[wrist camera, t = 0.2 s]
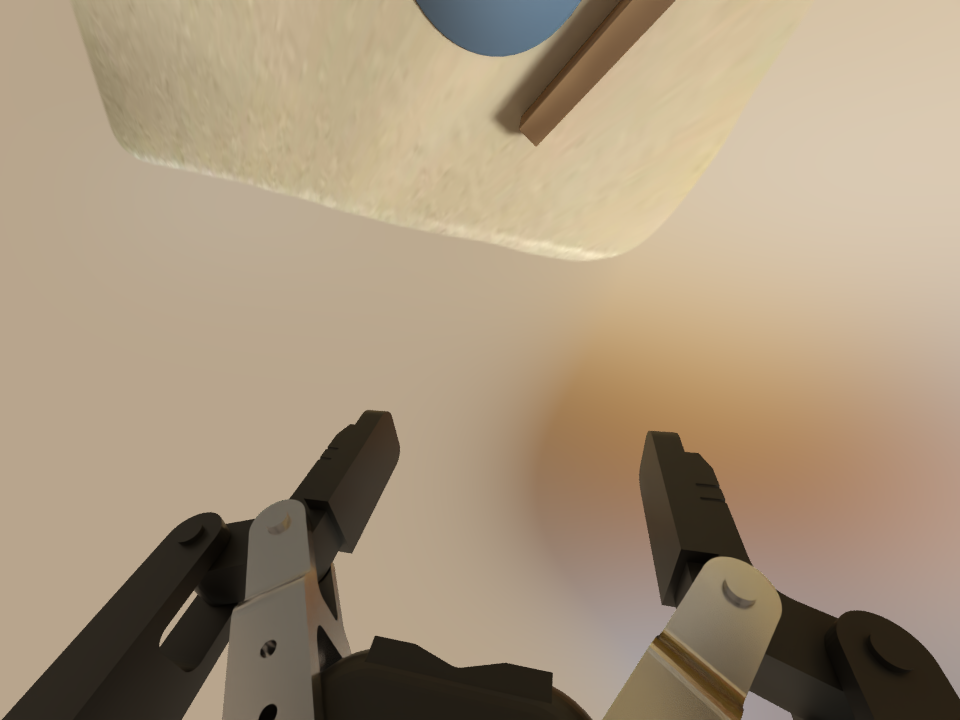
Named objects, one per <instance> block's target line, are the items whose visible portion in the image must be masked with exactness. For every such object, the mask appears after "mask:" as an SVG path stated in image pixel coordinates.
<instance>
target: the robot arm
mask: <svg viewBox="0 0 960 720" xmlns="http://www.w3.org/2000/svg"><path fill="white" fill-rule="evenodd" d="M399 454H400V445H399V441H398V437H397V434H396V430H395V426H394V423H393V419H392V415H391V413H389V412H386V411H373V410H367V411H365V412H364V413H363V414H362V415H361V417H360V418H359V420H358V421H357V423H356V424H355V425H353V424H350V425H349V426H347V427H346V428H345V429H343V430H342V431H341V432H339V433H338V434H337V435H336V436H335V438H334V439H333V440H332V442H331V443H330V444H329V446H328V449H326V450H325V451H324V453H323V454H322V456H321V457H320V460H318V461H317V462H316V463H315V465H314V466H313V468H312V469H311V470H310V472H309V473H308V474H307V476H306V477H305V479H304V480H303V481H302V483H301V484H300V485H299V487H298V488H297V490H296V491H295V492H294V493H293V495H292V496H291V497H290V499H289V500H282V501H279V502H277V503H274V504H272V505H271V506H269V507H267V508H266V509H265V510H263V511H262V512H261V513H260V514H259V515H258V516H257V517H256V519H252V520H246V521H241V522H234V523H229V524H225V523H224V521H223V520H222V518H221V517H220V516H219V515H218V514H216V513H211V512H210V513H202V514H198V515H196V516H193V517H191V518H189V519H187V520H186V521H184V522H182V523H181V524H179V525H178V526H177V527H176V528H175V529H173V530H172V531H171V532H170V533H169V535H168V536H167V537H166V538H165V539H164V540H163V541H162V542H161V543H160V545H159V546H158V547H157V548H156V549H155V550H154V551H153V552H152V553H151V555H150V556H149V557H148V558H147V559H146V560H145V561H144V562H143V563H142V565H141V566H140V567H139V568H138V569H137V570H136V571H135V572H134V574H133V575H132V576H131V577H130V578H129V579H128V580H127V581H126V582H125V584H124V585H123V586H122V587H121V588H120V589H119V590H118V591H117V592H116V593H115V595H114V596H113V597H112V598H111V599H110V600H109V601H108V603H106V605H105V606H104V607H103V608H102V609H101V610H100V611H99V612H98V613H97V615H96V616H95V617H94V618H93V619H92V620H91V621H90V622H89V623H88V625H87V626H86V627H85V628H84V629H83V630H82V631H81V632H80V633H79V635H78V636H77V637H76V638H75V639H74V640H73V641H72V642H71V643H70V645H69V646H68V647H67V648H66V649H65V650H64V651H63V652H62V654H61V655H60V656H59V657H58V658H57V659H56V660H55V661H54V662H53V664H52V665H51V666H50V667H49V668H48V669H47V670H46V671H45V672H44V673H43V675H42V676H41V677H40V678H39V679H38V680H37V681H36V682H35V683H34V685H33V686H32V687H31V688H30V689H29V690H28V691H27V692H26V693H25V695H24V696H23V697H22V698H21V699H20V700H19V701H18V702H17V703H16V705H15V706H14V707H13V708H12V709H11V710H10V711H9V712H8V713H7V715H6V716H5V717H4V718H3V719H2V720H182V718H183V716H184V715H185V713H186V711H187V710H188V708H189V706H190V705H191V703H192V701H193V700H194V698H195V696H196V695H197V693H198V692H199V690H200V688H201V687H202V685H203V683H204V682H205V680H206V678H207V676H208V675H209V673H210V671H211V670H212V668H213V667H214V665H215V663H216V662H217V660H218V658H219V657H220V655H221V653H222V652H223V650H224V648H225V647H226V645H227V643H228V642H229V648H228V659H227V671H226V682H225V694H224V705H223V717H222V720H592V719H591V718H590V716H589V715H588V714H587V713H586V712H585V710H583V709H582V708H581V707H580V706H579V705H578V704H577V703H576V702H575V701H574V700H572V699H571V698H570V697H569V696H567V695H566V694H565V693H563V692H562V691H560V690H558V689H556V688H555V687H553V686H552V677H553V673H551V672H546V671H542V670H537V669H532V668H527V667H523V666H518V665H513V664H508V663H501V664H491V665H482V666H473V667H464V668H457V667H454V666H451V665H450V664H448V663H446V662H445V661H443V660H441V659H440V658H438V657H436V656H435V655H433V654H431V653H429V652H428V651H426V650H424V649H423V648H421V647H420V646H418V645H416V644H413V643H408V642H403V641H398V640H394V639H388V638H384V637H379V636H375V637H374V640H373V643H372V645H371V648H370V649H368V650H364V651H360V652H356V653H354V654H351V650H350V647H349V643H348V640H347V638H346V634H345V631H344V627H343V621H342V614H341V608H340V600H339V594H338V587H337V581H336V574H335V567H334V563H333V560H334V558H335V556H336V554H337V552H338V551H340V552H346V553H352V552H353V550H354V548H355V546H356V544H357V542H358V540H359V538H360V536H361V534H362V532H363V530H364V528H365V526H366V524H367V522H368V520H369V518H370V516H371V514H372V512H373V510H374V508H375V506H376V504H377V502H378V500H379V498H380V496H381V494H382V492H383V490H384V488H385V486H386V484H387V482H388V480H389V478H390V476H391V474H392V472H393V470H394V468H395V466H396V464H397V462H398V458H399ZM639 481H640V490H641V496H642V501H643V506H644V512H645V517H646V522H647V528H648V533H649V538H650V544H651V549H652V555H653V560H654V565H655V571H656V576H657V581H658V586H659V592H660V597H661V603H662V605H666V606H672V607H676V611H675V612H674V614H673V615H672V617H671V619H670V620H669V622H668V623H667V625H666V627H665V628H664V630H663V631H662V633H661V634H660V635H659V636H657V637H656V638H655V639H654V640H653V641H652V643H651V645H650V646H649V647H648V649H647V650H646V652H645V653H644V655H643V657H642V658H641V660H640V661H639V663H638V664H637V666H636V668H635V669H634V671H633V672H632V674H631V675H630V677H629V679H628V680H627V682H626V683H625V685H624V687H623V688H622V690H621V691H620V693H619V694H618V696H617V698H616V699H615V701H614V702H613V704H612V705H611V707H610V708H609V710H608V712H607V713H606V715H605V716H604V718H603V720H741V718H742V715H743V711H744V710H743V704H744V701H745V698H746V696H747V693H748V691H751V692H753V693H755V694H757V695H758V696H760V697H762V698H764V699H766V700H768V701H770V702H771V703H774V704H775V705H777V706H779V707H781V708H783V709H785V710H787V711H788V712H790V713H791V714H792V717H793V720H960V699H959V697H958V695H957V694H956V692H955V691H954V689H953V687H952V686H951V684H950V683H949V681H948V679H947V678H946V676H945V674H944V673H943V671H942V669H941V668H940V666H939V665H938V663H937V662H936V660H935V659H934V657H933V656H932V655H931V654H930V652H929V651H928V650H927V649H926V648H925V647H924V646H923V645H922V644H921V643H920V642H919V641H918V640H917V639H916V638H914V637H913V636H912V635H911V634H910V633H908V632H907V631H906V630H904V629H903V628H901V627H900V626H898V625H897V624H895V623H893V622H891V621H890V620H888V619H885V618H884V617H881V616H879V615H876V614H873V613H870V612H866V611H849V612H846V613H844V614H843V615H841V616H840V617H839V618H836V617H833V616H831V615H829V614H826V613H824V612H821V611H819V610H817V609H814V608H812V607H809V606H807V605H805V604H802V603H800V602H797V601H795V600H793V599H791V598H789V597H787V596H786V595H784V594H782V593H780V592H779V591H777V590H776V589H775V587H774V586H773V585H772V583H771V582H770V581H769V580H768V579H767V578H766V577H765V576H764V575H763V574H762V573H761V572H760V571H759V570H757V569H755V568H754V567H753V565H752V564H751V562H750V560H749V557H748V555H747V553H746V550H745V548H744V545H743V543H742V540H741V538H740V535H739V533H738V530H737V528H736V525H735V523H734V520H733V518H732V515H731V513H730V510H729V508H728V505H727V504H726V503H725V498H724V496H723V493H722V491H721V489H720V488H719V483H718V481H717V478H716V476H715V473H714V471H713V469H712V467H711V466H710V465H709V464H708V463H707V462H706V461H705V460H704V459H703V458H702V457H701V455H700V454H699V453H690V452H684V449H683V446H682V443H681V440H680V437H679V435H678V434H677V433H673V432H659V431H648V433H647V436H646V440H645V445H644V451H643V455H642V460H641V465H640V474H639ZM193 591H195V592H196V593H197V594H198V595H197V597H196V598H195V599H194V601H193V602H192V603H191V605H190V606H189V607H188V609H187V610H186V612H185V613H184V614H183V616H182V617H181V618H180V620H179V621H178V623H177V624H176V625H175V627H174V628H173V630H172V631H171V632H170V634H169V635H168V636H167V638H166V639H165V641H164V642H163V644H162V645H161V646H160V647H159V642H160V639H161V636H162V634H163V632H164V630H165V629H166V627H167V626H168V624H169V623H170V622H171V620H172V619H173V618H174V616H175V615H176V614H177V612H178V611H179V610H180V608H181V607H182V605H183V604H184V603H185V601H186V600H187V598H188V597H189V596H190V595H191V593H192V592H193Z"/></svg>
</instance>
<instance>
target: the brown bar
mask: <svg viewBox="0 0 960 720" xmlns="http://www.w3.org/2000/svg"><path fill="white" fill-rule="evenodd" d="M674 1H675V0H621V1H620V2H619V4H618V5H617V6H616V7H615V8H614V9H613V11H612V12H611V13H610V14H609V15H608V16H607V18H606V19H605V20H604V21H603V22H602V23H601V25H600V26H599V27H598V28H597V29H596V30H595V32H594V33H593V34H592V35H591V36H590V37H589V39H588V40H587V41H586V42H585V43H584V44H583V46H582V47H581V48H580V49H579V50H578V51H577V53H576V54H575V55H574V56H573V57H572V58H571V60H570V61H569V62H568V63H567V64H566V65H565V67H564V68H563V69H562V70H561V71H560V72H559V74H558V75H557V76H556V77H555V78H554V79H553V81H552V82H551V83H550V84H549V85H548V86H547V88H546V89H545V90H544V91H543V92H542V94H541V95H540V96H539V97H538V98H537V99H536V101H535V102H534V103H533V104H532V105H531V106H530V108H529V109H528V110H527V111H526V112H525V113H524V115H523V116H522V118H521V123H520V128H519V130H520V131H521V132H522V133H523V134H524V135H525V136H526V137H527V138H528V139H529V140H530V141H531V142H532V143H533V144H534V145H535V146H537V145H538V144H539V143H540V142H541V141H542V140H543V139H544V138H545V137H546V136H547V135H548V134H549V133H550V132H551V131H552V130H553V129H554V128H555V126H556V125H557V124H558V123H559V122H560V121H561V120H562V119H563V118H564V117H565V116H566V115H567V114H568V113H569V112H570V111H571V110H572V109H573V108H574V106H575V105H576V104H577V103H578V102H579V101H580V100H581V99H582V98H583V97H584V96H585V95H586V94H587V93H588V92H589V91H590V90H591V89H592V88H593V87H594V85H595V84H596V83H597V82H598V81H599V80H600V79H601V78H602V77H603V76H604V75H605V74H606V73H607V72H608V71H609V70H610V69H611V68H612V67H613V65H614V64H615V63H616V62H617V61H618V60H619V59H620V58H621V57H622V56H623V55H624V54H625V53H626V52H627V51H628V50H629V49H630V48H631V47H632V46H633V44H634V43H635V42H636V41H637V40H638V39H639V38H640V37H641V36H642V35H643V34H644V33H645V32H646V31H647V30H648V29H649V28H650V27H651V26H652V24H653V23H654V22H655V21H656V20H657V19H658V18H659V17H660V16H661V15H662V14H663V13H664V12H665V11H666V10H667V9H668V8H669V7H670V6H671V5H672V3H673V2H674Z"/></svg>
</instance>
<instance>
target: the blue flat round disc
mask: <svg viewBox="0 0 960 720" xmlns="http://www.w3.org/2000/svg"><path fill="white" fill-rule="evenodd" d="M416 1H417V3H418V5H419V6H420V7H421V9H422V10H423V12H424V13H425V15H426V16H427V18H428V19H429V20H430V21H431V22H432V23H433V25H434V26H435V27H436V28H437V29H438V30H439V31H440V32H441V33H442V34H443V35H445V36H446V37H447V38H448V39H450V40H451V41H452V42H454V43H455V44H457V45H458V46H460V47H462V48H464V49H466V50H468V51H471V52H474V53H477V54H480V55H486V56H509V55H515V54H518V53H521V52H524V51H527V50H529V49H531V48H533V47H535V46H537V45H539V44H540V43H541V42H543V41H544V40H546V39H547V38H549V37H550V36H551V35H552V34H553V33H554V32H556V31H557V30H558V29H559V28H560V27H561V26H562V25H563V24H564V22H565V21H566V20H567V19H568V18H569V17H570V16H571V14H572V13H573V11H574V10H575V9H576V7H577V6H578V4H579V3H580V1H581V0H416Z"/></svg>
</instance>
